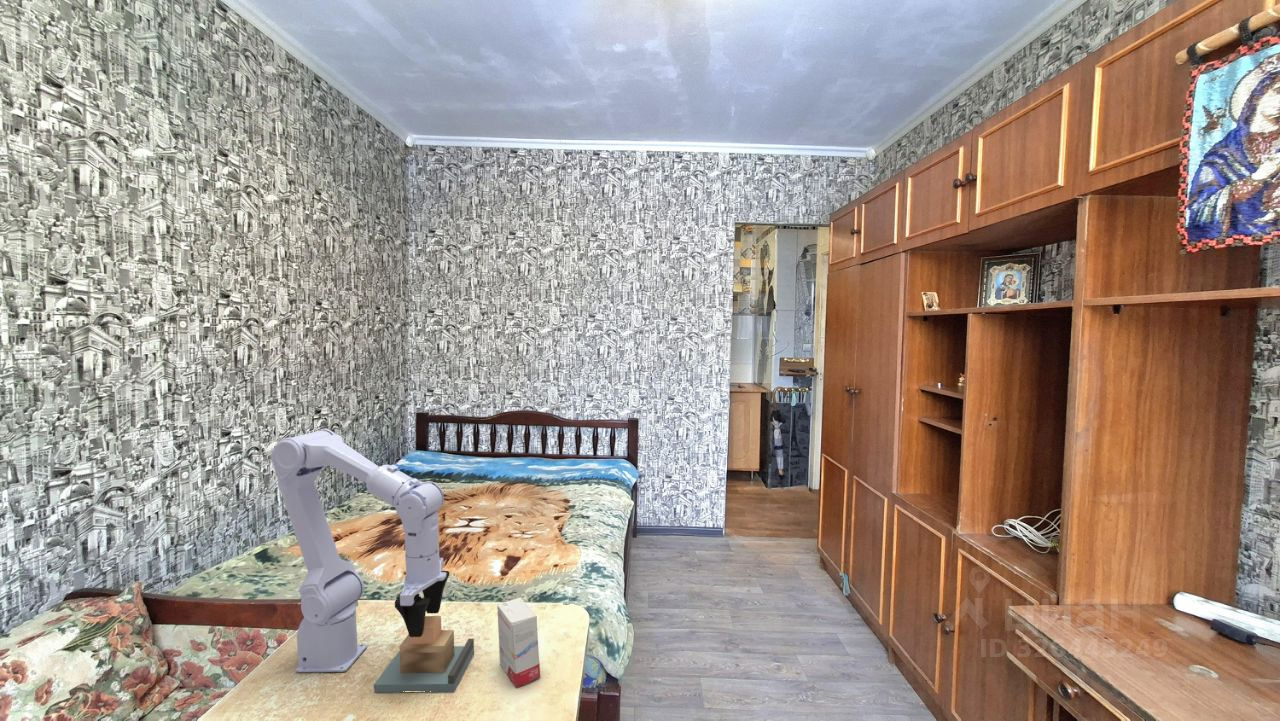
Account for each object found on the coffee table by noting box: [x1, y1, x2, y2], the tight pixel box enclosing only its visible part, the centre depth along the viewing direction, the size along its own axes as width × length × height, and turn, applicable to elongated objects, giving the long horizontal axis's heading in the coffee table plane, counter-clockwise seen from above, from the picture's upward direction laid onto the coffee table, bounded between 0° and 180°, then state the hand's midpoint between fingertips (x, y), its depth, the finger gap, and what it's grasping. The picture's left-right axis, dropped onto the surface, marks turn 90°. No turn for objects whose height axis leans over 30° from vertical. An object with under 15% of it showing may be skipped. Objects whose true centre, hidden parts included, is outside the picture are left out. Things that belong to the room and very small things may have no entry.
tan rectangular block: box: [398, 629, 455, 673], centre depth 98 cm, size 8×5×5 cm, turn 90°
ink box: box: [496, 597, 541, 688], centre depth 98 cm, size 9×5×12 cm, turn 33°
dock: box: [373, 638, 475, 694], centre depth 98 cm, size 14×11×3 cm
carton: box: [411, 615, 442, 645], centre depth 98 cm, size 4×4×3 cm
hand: (424, 623), depth 97 cm, fingers open, 7 cm apart
